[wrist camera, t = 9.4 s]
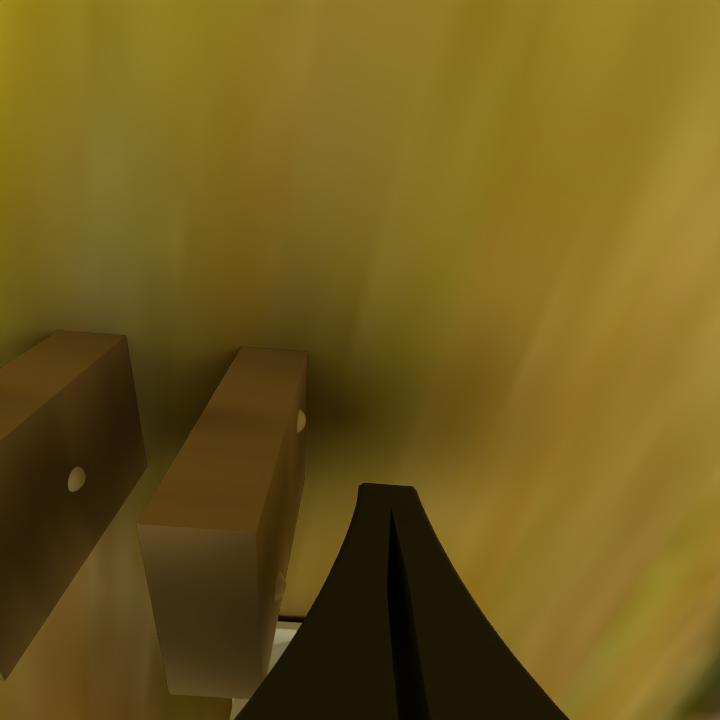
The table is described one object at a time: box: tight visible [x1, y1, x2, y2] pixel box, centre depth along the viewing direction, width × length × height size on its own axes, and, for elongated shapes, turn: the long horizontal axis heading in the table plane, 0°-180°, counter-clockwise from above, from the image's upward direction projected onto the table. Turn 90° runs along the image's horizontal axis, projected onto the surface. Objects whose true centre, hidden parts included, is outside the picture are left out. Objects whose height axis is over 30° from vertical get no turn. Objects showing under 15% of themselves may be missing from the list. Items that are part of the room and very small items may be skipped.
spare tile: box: [136, 347, 308, 699], centre depth 12 cm, size 5×2×7 cm, turn 176°
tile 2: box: [0, 330, 147, 681], centre depth 12 cm, size 5×2×7 cm, turn 176°
